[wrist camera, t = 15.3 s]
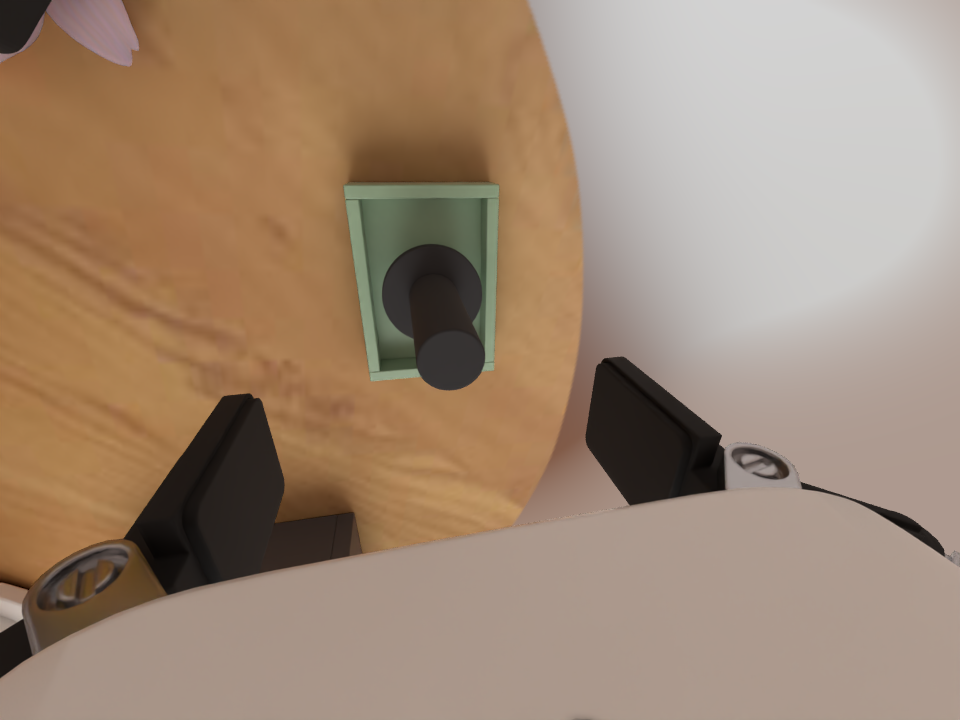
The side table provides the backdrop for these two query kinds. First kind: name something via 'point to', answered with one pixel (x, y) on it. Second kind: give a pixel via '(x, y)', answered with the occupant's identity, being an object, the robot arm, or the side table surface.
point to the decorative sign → (19, 22)
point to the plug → (437, 312)
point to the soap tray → (409, 223)
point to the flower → (92, 28)
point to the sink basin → (311, 541)
